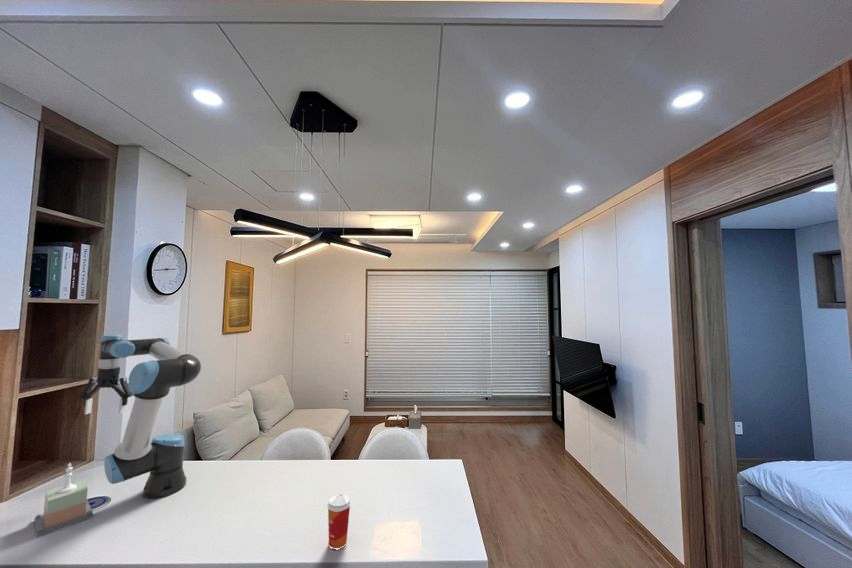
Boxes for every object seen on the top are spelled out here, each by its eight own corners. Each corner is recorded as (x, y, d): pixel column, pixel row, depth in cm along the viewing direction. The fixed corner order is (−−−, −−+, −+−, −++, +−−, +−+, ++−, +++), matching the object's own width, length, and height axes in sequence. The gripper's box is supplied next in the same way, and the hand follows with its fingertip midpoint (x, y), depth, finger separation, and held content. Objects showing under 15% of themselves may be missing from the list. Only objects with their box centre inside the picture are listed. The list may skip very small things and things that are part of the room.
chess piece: (63, 494, 121) (66, 467, 121) (53, 492, 122) (56, 465, 122) (79, 487, 125) (82, 460, 126) (70, 485, 126) (73, 459, 127)
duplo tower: (87, 503, 132) (89, 476, 133) (93, 517, 124) (95, 488, 125) (34, 521, 121) (37, 491, 122) (36, 537, 113) (40, 505, 114)
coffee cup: (328, 536, 116) (330, 493, 118) (351, 535, 117) (352, 492, 118) (323, 553, 108) (324, 507, 109) (347, 552, 109) (349, 506, 110)
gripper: (144, 365, 157) (140, 409, 156) (85, 366, 153) (80, 411, 151) (133, 368, 150) (129, 414, 148) (71, 369, 145) (66, 416, 144)
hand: (104, 413), depth 150 cm, fingers open, 13 cm apart
